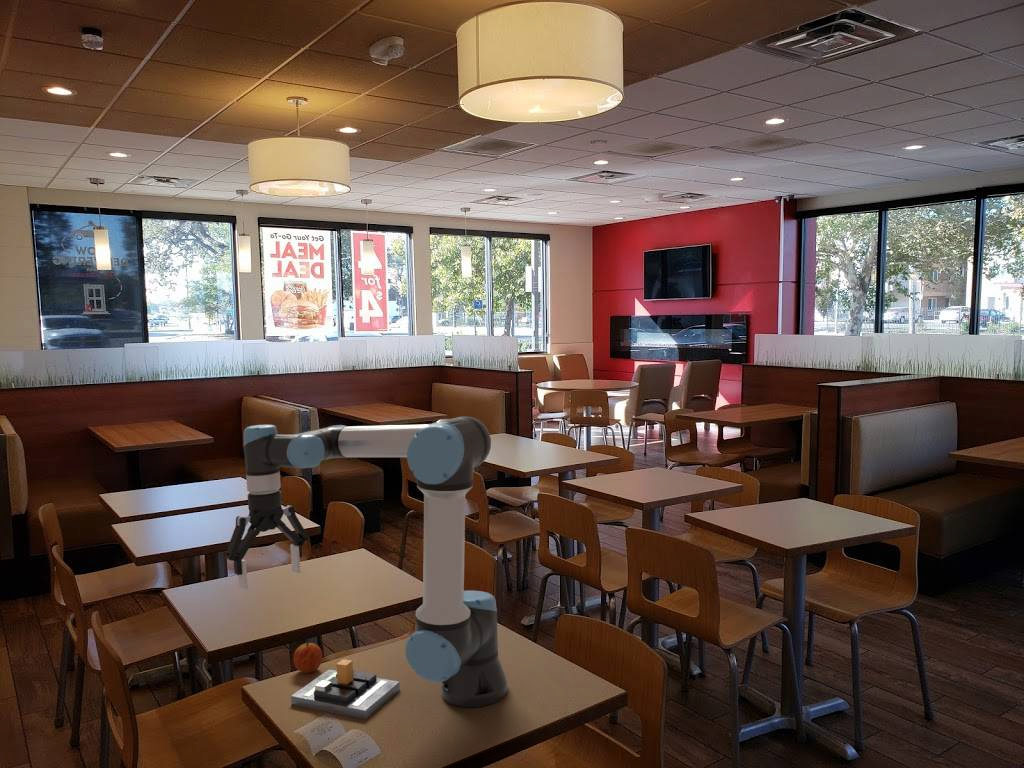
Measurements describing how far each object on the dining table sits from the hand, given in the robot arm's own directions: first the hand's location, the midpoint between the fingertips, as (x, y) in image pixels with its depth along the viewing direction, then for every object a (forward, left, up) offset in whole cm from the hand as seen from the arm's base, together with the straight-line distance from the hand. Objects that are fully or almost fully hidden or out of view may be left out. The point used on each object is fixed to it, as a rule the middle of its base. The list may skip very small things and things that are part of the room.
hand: (270, 579), depth 178 cm
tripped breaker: (-19, -1, -22) cm, 29 cm away
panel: (-19, -1, -26) cm, 32 cm away
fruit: (-2, -9, -26) cm, 28 cm away
